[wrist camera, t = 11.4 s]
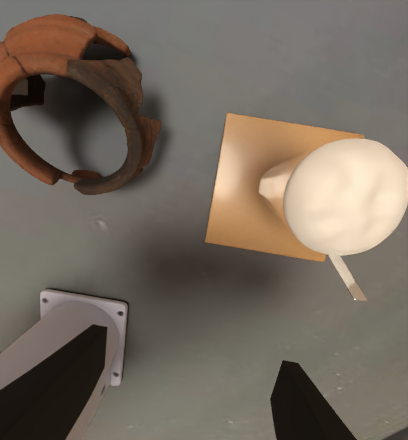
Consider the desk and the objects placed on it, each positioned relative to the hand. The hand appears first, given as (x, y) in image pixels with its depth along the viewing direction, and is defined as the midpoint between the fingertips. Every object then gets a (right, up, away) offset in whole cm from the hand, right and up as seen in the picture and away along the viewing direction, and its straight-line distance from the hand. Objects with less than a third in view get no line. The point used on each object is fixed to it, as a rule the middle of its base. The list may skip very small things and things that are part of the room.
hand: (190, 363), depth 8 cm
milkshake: (+6, +8, +8) cm, 13 cm away
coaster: (+6, +8, +8) cm, 13 cm away
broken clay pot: (-8, +14, +8) cm, 18 cm away
